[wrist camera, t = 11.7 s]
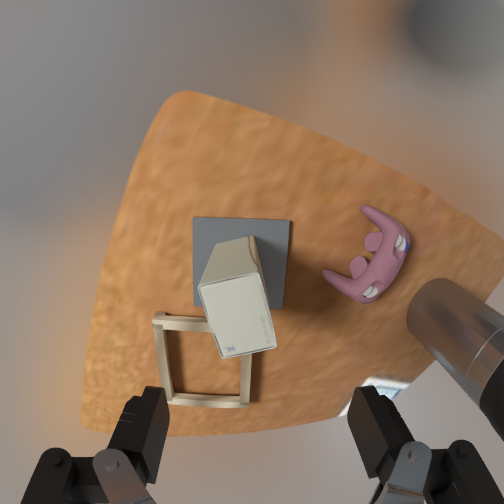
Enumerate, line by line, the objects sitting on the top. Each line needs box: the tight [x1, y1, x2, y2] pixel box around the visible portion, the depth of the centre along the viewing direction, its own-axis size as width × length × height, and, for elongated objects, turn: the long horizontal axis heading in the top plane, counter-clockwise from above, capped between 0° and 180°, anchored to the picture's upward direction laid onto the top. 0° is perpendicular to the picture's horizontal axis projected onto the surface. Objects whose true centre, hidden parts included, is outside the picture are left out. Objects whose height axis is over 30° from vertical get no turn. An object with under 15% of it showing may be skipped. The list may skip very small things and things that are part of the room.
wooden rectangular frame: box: [152, 312, 252, 408], centre depth 34 cm, size 11×13×2 cm
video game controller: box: [322, 205, 410, 303], centre depth 30 cm, size 10×5×7 cm, turn 151°
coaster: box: [193, 217, 290, 309], centre depth 32 cm, size 10×10×1 cm
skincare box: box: [198, 235, 277, 359], centre depth 26 cm, size 6×4×12 cm
